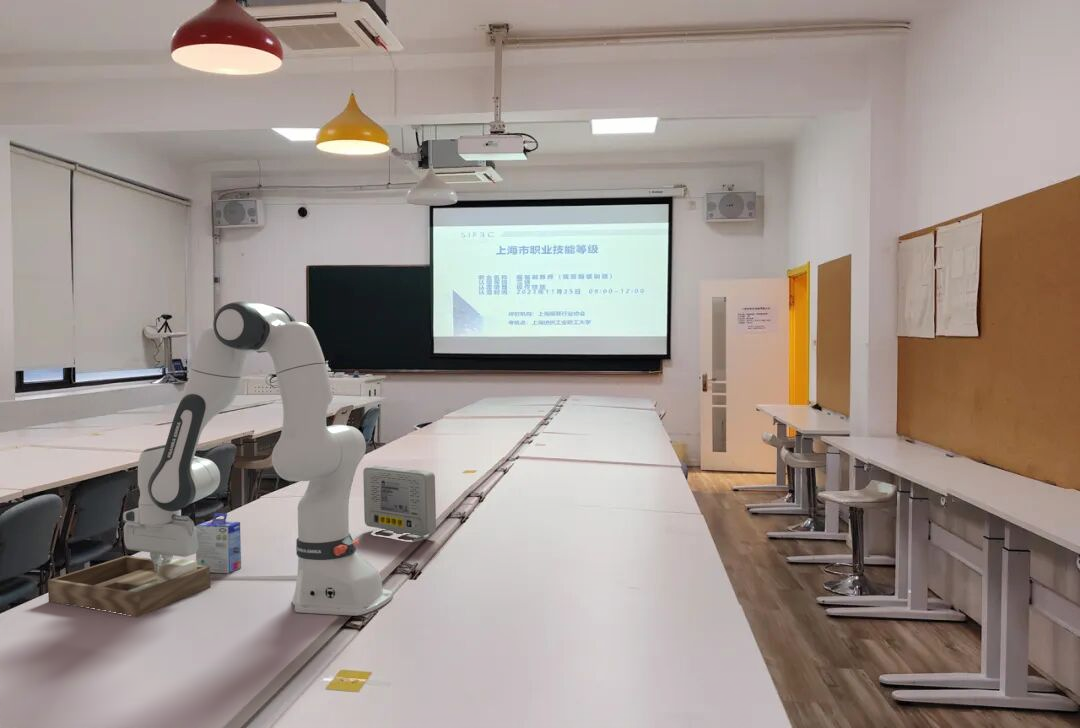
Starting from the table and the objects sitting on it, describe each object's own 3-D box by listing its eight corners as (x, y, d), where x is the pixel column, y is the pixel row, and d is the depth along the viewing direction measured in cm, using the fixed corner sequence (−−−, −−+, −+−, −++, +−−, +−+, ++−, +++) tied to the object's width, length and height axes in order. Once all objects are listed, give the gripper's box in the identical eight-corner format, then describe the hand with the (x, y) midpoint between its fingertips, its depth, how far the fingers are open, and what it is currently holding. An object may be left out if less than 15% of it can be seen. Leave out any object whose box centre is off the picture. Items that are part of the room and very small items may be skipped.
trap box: (210, 587, 174) (209, 566, 174) (136, 617, 156) (135, 594, 156) (127, 574, 185) (126, 555, 185) (48, 601, 166) (47, 580, 166)
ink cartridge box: (243, 567, 189) (241, 512, 189) (229, 574, 184) (228, 517, 183) (209, 565, 191) (207, 511, 191) (195, 572, 186) (193, 516, 185)
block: (197, 577, 172) (196, 560, 172) (176, 585, 167) (175, 568, 167) (178, 574, 174) (178, 558, 174) (157, 582, 169) (156, 565, 169)
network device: (441, 537, 215) (439, 470, 214) (421, 545, 207) (419, 475, 207) (378, 527, 228) (377, 464, 228) (358, 533, 221) (356, 468, 220)
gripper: (203, 513, 171) (205, 571, 171) (141, 507, 179) (143, 562, 179) (181, 519, 165) (183, 579, 166) (118, 513, 173) (120, 570, 173)
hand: (162, 570), depth 172 cm, fingers closed
